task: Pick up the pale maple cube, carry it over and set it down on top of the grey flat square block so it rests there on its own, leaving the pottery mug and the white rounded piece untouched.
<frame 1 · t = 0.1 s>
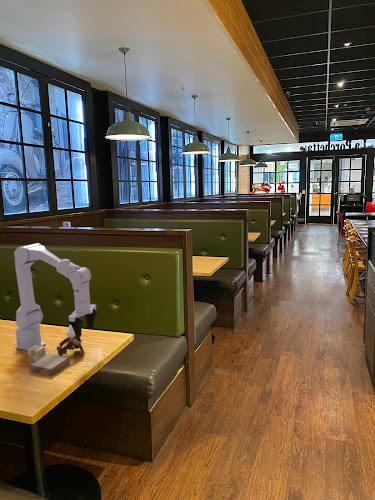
hand: (84, 332, 147), 10 cm above the table, tool pointing down, fingers open, 7 cm apart
maple cube: (37, 360, 147), on the table
grey flat square block: (50, 368, 141), on the table
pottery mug: (72, 354, 152), on the table
white rounded piece: (73, 339, 166), on the table
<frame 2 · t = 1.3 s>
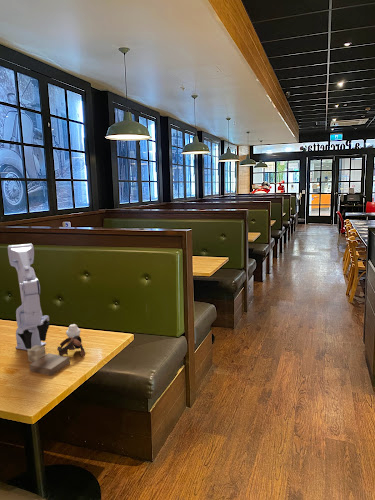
hand: (35, 344, 146), 6 cm above the table, tool pointing down, fingers open, 7 cm apart
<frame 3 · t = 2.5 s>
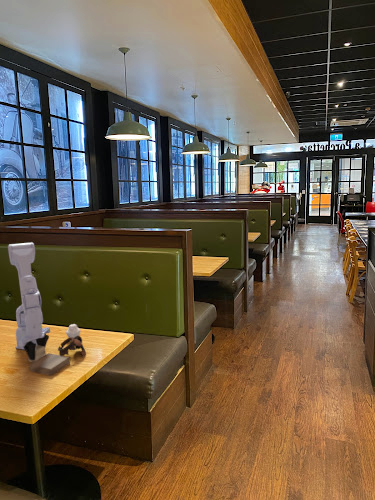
hand: (37, 356, 147), 1 cm above the table, tool pointing down, fingers closed on maple cube, 4 cm apart
maple cube: (37, 359, 147), on the table, touching gripper
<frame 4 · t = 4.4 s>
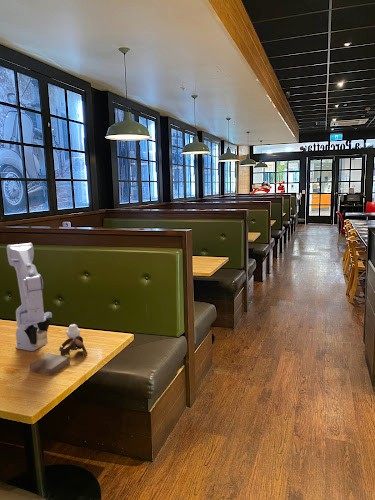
hand: (38, 341, 144), 8 cm above the table, tool pointing down, fingers closed on maple cube, 4 cm apart
maple cube: (38, 344, 144), point 7 cm above the table, touching gripper
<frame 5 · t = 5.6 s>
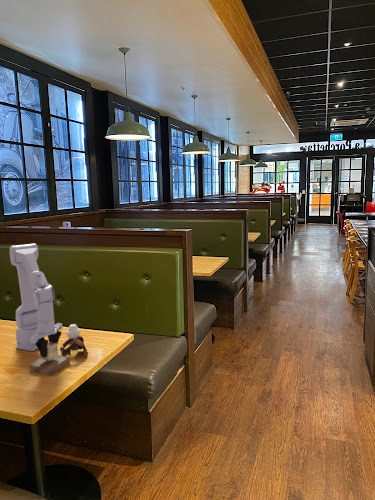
hand: (49, 353, 140), 5 cm above the table, tool pointing down, fingers closed on maple cube, 4 cm apart
maple cube: (49, 357, 140), point 4 cm above the table, touching gripper
when the fingers open (5 cm above the table, at t = 6.3 s): maple cube drops 1 cm, point 2 cm above the table.
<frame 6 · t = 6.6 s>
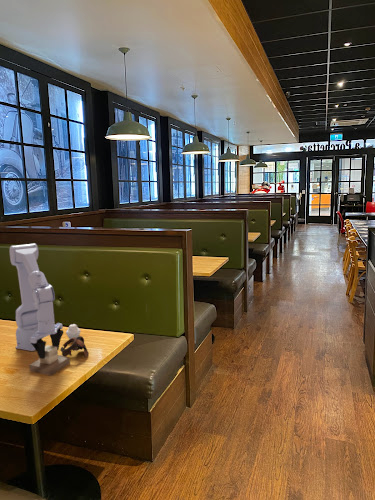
hand: (49, 353, 140), 5 cm above the table, tool pointing down, fingers open, 7 cm apart
maple cube: (49, 360, 140), point 2 cm above the table
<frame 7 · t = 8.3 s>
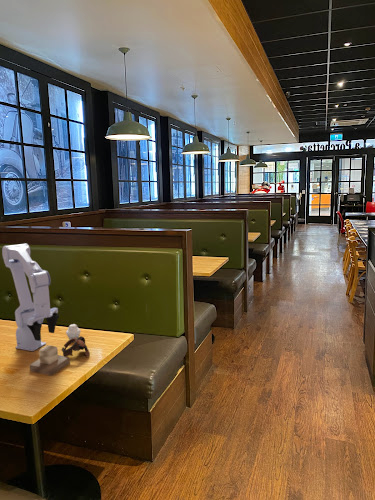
hand: (44, 336, 146), 9 cm above the table, tool pointing down, fingers open, 7 cm apart
maple cube: (49, 360, 140), point 2 cm above the table, touching grey flat square block
grey flat square block: (50, 368, 141), on the table, touching maple cube
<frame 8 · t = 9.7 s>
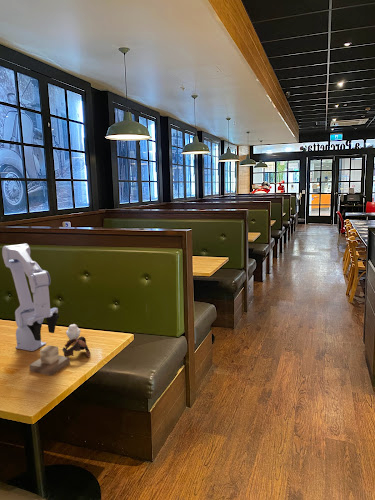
hand: (44, 336, 146), 9 cm above the table, tool pointing down, fingers open, 7 cm apart
maple cube: (50, 360, 140), point 2 cm above the table
grey flat square block: (50, 368, 141), on the table
at the end: maple cube 0.2 cm off-centre on the grey flat square block, point 3.0 cm above the grey flat square block's base; the gripper is holding nothing; maple cube tilted 0° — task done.
